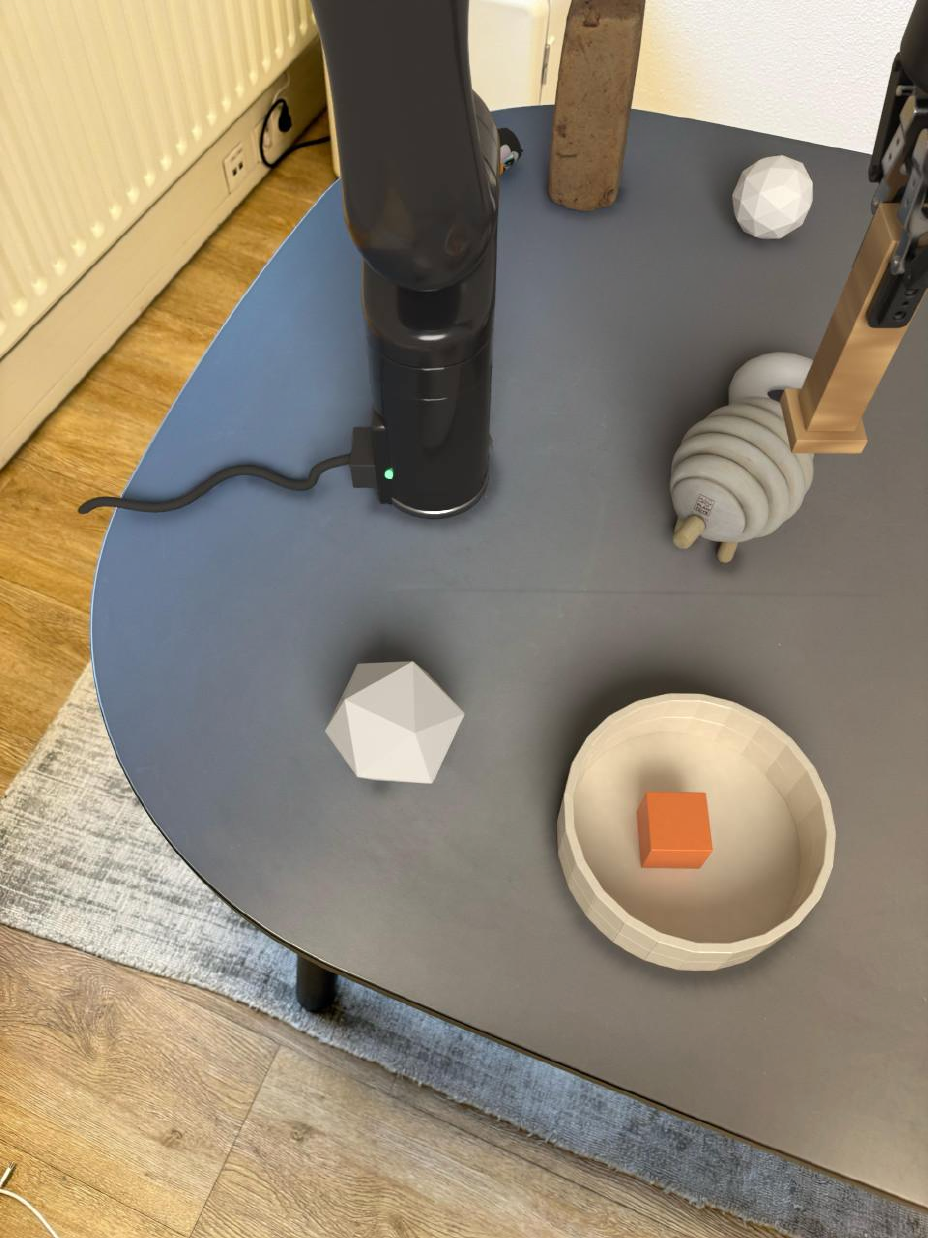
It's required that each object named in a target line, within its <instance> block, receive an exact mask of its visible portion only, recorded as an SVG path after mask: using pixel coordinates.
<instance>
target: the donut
mask: <svg viewBox="0 0 928 1238" xmlns="http://www.w3.org/2000/svg"><path fill="white" fill-rule="evenodd" d="M813 360H814V359H812V358H810V357H808V356H805V355H800V354H798V353H793V352H782V351H777V352H770V353H762V354H760V355H758V356H756V357H754V358H751V359H749V360H747V361H746V362H745V363H744V364H743V365H742V366H741V367H739V369H737V371H736V372H735V373H734V375H733V377H732V380H731V382H730V384H729V386H728V405H729V404H731V403H732V402H734V401H736V400H738V399H741V398H745V397H752V396H756V397H765V398H769V399H771V397H770V396H769V394H768V393H769V392H773V391H784V390H785V388H802V386H803V384H804V381H805V379H806V377H807V374H808V372H809V369H810V367H811V365H812V362H813Z"/></svg>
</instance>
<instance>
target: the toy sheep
mask: <svg viewBox="0 0 928 1238" xmlns="http://www.w3.org/2000/svg"><path fill="white" fill-rule="evenodd" d="M814 457H815V453H791V449H790V445H789V440H788V436H787V431H786V427H785V422H784V418H783V413H782V409H781V404H780V401H778V400H775V399H773V398H770V399H769V398H765V397H756V396H752V397H745V398H741V399H738V400H736V401H734V402H732V403H731V404H729V403H728V405H725V406H721V407H719V408H717V409H715V410H713V411H712V412H711V413H710V414H708V415H707V416H706V417H705V418H704V419H702V420H700V421H698V422H696V423H695V424H694V425H693V426H691V427H690V428H689V430H687V432H686V433H685V434H684V436H683V439H682V441H681V443H680V445H679V447H678V448H677V450H676V451H675V453H674V455H673V458H672V460H671V461H672V462H671V466H670V480H669V491H670V496H671V500H672V501H671V502H672V505H673V509H674V511H675V513H676V515H677V519H676V523H675V526H674V529H673V532H674V533H673V535H672V542H673V544H674V545H675V546H676V547H677V548H679V549H682V550H687V549H689V548H690V547H691V546H692V545H693V544H694V542H695V541H696V540H697V539H698V538H699V536H700V537H701V538H703V539H705V540H708V541H713V542H720V545H719V548H718V550H717V553H716V557H717V560H718V561H720V562H722V563H729V562H731V561H732V559H733V558H734V555H735V553H736V550H737V547H738V545H739V543H744V542H747V541H751V540H752V539H757V538H763V537H766V536H767V535H768V536H769V535H770V534H772V533H775V531H776V530H778V529H779V528H780V527H781V526H782V524H783V523H784V522H786V521H788V520H789V519H790V518H792V517H793V516H795V514H796V513H797V512H798V511H799V509H800V508H801V506H802V504H803V502H804V498H805V495H806V494H807V492H808V491H809V489H810V488H811V486H812V483H813V480H814V474H815V473H814V471H815V469H814V462H813V461H814Z"/></svg>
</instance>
